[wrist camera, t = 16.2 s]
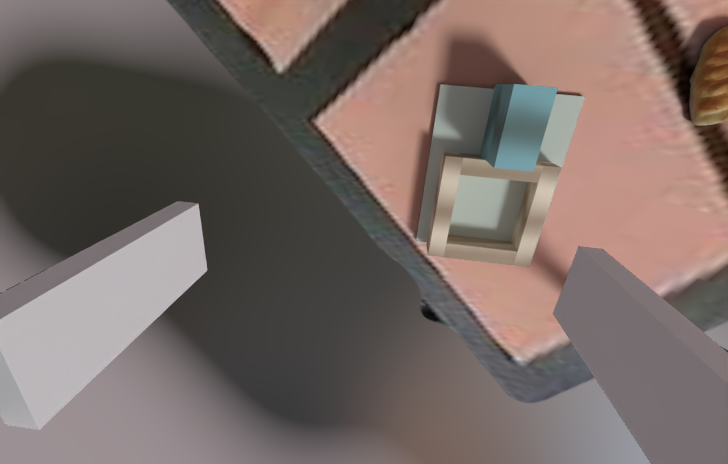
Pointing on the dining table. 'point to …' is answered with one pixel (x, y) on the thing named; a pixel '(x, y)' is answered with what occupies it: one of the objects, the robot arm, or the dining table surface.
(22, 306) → the robot arm
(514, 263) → the sponge holder
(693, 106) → the pastry
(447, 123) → the mat
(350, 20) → the dining table surface
